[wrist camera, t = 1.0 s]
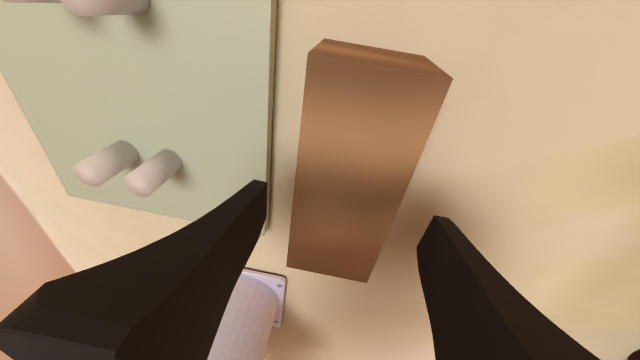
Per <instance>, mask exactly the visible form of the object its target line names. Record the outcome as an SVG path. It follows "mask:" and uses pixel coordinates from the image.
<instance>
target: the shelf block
mask: <svg viewBox="0 0 640 360" xmlns="http://www.w3.org/2000/svg"><path fill="white" fill-rule="evenodd" d="M452 80H453V78H452V77H450V76H449V75H448V74H447V73H445V72H444V71H443V70H441V69H440V68H439V67H438V66H436V65H435V64H434V63H432V62H431V61H430V60H429V59H427V58H426V57H425V56H421V55H416V54H410V53H404V52H398V51H393V50H387V49H381V48H375V47H370V46H364V45H358V44H353V43H347V42H341V41H335V40H330V39H323V40H322V41H321V42H320V43H319V44H318V45H317V46H315V47H314V48H313V49H312V50H311V51H310V52H309V53H308V58H307V68H306V78H305V88H304V98H303V108H302V118H301V128H300V137H299V147H298V157H297V167H296V177H295V187H294V197H293V207H292V216H291V226H290V236H289V246H288V256H287V266H286V267H291V268H295V269H300V270H305V271H310V272H315V273H320V274H325V275H330V276H335V277H340V278H345V279H350V280H355V281H359V282H364V283H367V281H368V279H369V276H370V274H371V272H372V269H373V267H374V265H375V262H376V260H377V258H378V255H379V253H380V250H381V248H382V246H383V243H384V241H385V239H386V236H387V234H388V231H389V229H390V227H391V224H392V222H393V220H394V217H395V215H396V213H397V210H398V208H399V205H400V203H401V201H402V198H403V196H404V194H405V191H406V189H407V186H408V184H409V182H410V179H411V177H412V175H413V172H414V170H415V167H416V165H417V163H418V160H419V158H420V156H421V153H422V151H423V149H424V146H425V144H426V141H427V139H428V137H429V134H430V132H431V130H432V127H433V125H434V122H435V120H436V118H437V115H438V113H439V111H440V108H441V106H442V104H443V101H444V99H445V96H446V94H447V92H448V89H449V87H450V85H451V82H452Z"/></svg>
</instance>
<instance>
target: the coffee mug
mask: <svg viewBox="0 0 640 360" xmlns="http://www.w3.org/2000/svg"><path fill="white" fill-rule="evenodd" d="M628 360H640V350H638V351H636V352H634V353H633V354H631V355H630V356H629V357H628Z"/></svg>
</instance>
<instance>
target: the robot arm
mask: <svg viewBox="0 0 640 360" xmlns="http://www.w3.org/2000/svg"><path fill="white" fill-rule="evenodd" d="M267 186H268V182H264V181H259V180H252V181H251V182H249V183H248V184H247V185H245V186H244V187H243V188H242V189H240V190H239V191H238V192H236V193H235V194H234V195H232V196H231V197H230V198H228V199H227V200H225V201H224V202H223V203H221V204H220V205H219V206H217V207H216V208H214V209H213V210H211V211H210V212H208V213H206V214H205V215H203V216H202V217H200V218H199V219H197V220H196V221H194V222H192V223H191V224H189V225H187V226H185V227H184V228H182V229H180V230H178V231H176V232H174V233H172V234H170V235H168V236H166V237H164V238H162V239H160V240H158V241H156V242H154V243H151V244H149V245H147V246H145V247H143V248H141V249H138V250H136V251H134V252H131V253H129V254H126V255H124V256H121V257H119V258H116V259H114V260H111V261H108V262H106V263H103V264H100V265H98V266H95V267H92V268H89V269H86V270H83V271H80V272H77V273H74V274H71V275H68V276H65V277H62V278H59V279H56V280H53V281H49V282H46V283H45V284H44V285H42V286H41V287H40V288H39V289H38V290H37V291H36V292H34V293H33V294H32V295H31V296H30V297H29V298H28V299H26V300H25V301H24V302H23V303H22V304H21V305H20V306H18V307H17V308H16V309H15V310H14V311H13V312H11V314H9V315H8V316H7V317H6V318H5V319H4V320H2V321H1V322H0V350H1V351H2V352H4V353H5V354H6V355H8V356H9V357H11V358H12V359H14V360H264V356H265V352H266V349H267V345H268V341H269V338H270V334H271V331H272V327H274V328H279V327H280V326H281V320H282V311H283V303H284V294H285V285H286V279H285V278H284V277H282V276H277V275H273V274H268V273H263V272H258V271H253V270H248V269H244V267H245V265H246V263H247V261H248V259H249V257H250V255H251V253H252V251H253V249H254V247H255V245H256V243H257V241H258V239H259V237H260V234H261V231H262V228H263V226H264V223H265V220H266V217H267ZM417 260H418V270H419V275H420V279H421V284H422V288H423V293H424V297H425V301H426V306H427V310H428V314H429V319H430V323H431V329H432V334H433V342H434V350H435V358H436V360H600V359H599V358H597V357H596V356H595V355H593V354H592V353H591V352H589V351H588V350H587V349H585V348H584V347H583V346H581V345H580V344H579V343H578V342H576V341H575V340H574V339H573V338H571V337H570V336H569V335H568V334H566V333H565V332H564V331H563V330H561V329H560V328H559V327H558V326H556V325H555V324H554V323H553V322H552V321H550V320H549V319H548V318H547V317H546V316H544V315H543V314H542V313H541V312H540V311H539V310H538V309H536V308H535V307H534V306H533V305H532V304H531V303H530V302H529V301H528V300H526V299H525V298H524V297H523V296H522V295H521V294H520V293H519V292H518V291H517V290H516V289H515V288H514V287H513V286H512V285H511V284H510V283H509V282H508V281H507V280H506V279H505V278H504V277H503V276H502V275H501V274H500V273H499V272H498V271H497V270H496V269H495V268H494V267H493V266H492V265H491V264H490V263H489V262H488V261H487V260H486V259H485V258H484V256H483V255H482V254H481V253H480V252H479V251H478V250H477V249H476V248H475V246H474V245H473V244H472V243H471V242H470V241H469V240H468V239H467V237H466V236H465V235H464V234H463V233H462V232H461V231H460V230H459V228H458V227H457V226H456V225H455V224H454V223H453V222H452V221H451V220H450V219H449V218H445V217H440V216H435V215H434V217H433V219H432V220H431V222H430V224H429V226H428V228H427V229H426V231H425V233H424V235H423V237H422V238H421V240H420V242H419V244H418V246H417Z"/></svg>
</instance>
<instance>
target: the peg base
mask: <svg viewBox="0 0 640 360" xmlns="http://www.w3.org/2000/svg"><path fill="white" fill-rule="evenodd" d="M276 16H277V0H0V71H1V73H2V75H3V77H4V79H5V81H6V82H7V84H8V86H9V88H10V90H11V92H12V93H13V95H14V97H15V99H16V101H17V103H18V104H19V106H20V108H21V110H22V112H23V113H24V115H25V117H26V119H27V121H28V123H29V124H30V126H31V128H32V130H33V132H34V134H35V135H36V137H37V139H38V141H39V143H40V145H41V146H42V148H43V150H44V152H45V154H46V155H47V157H48V159H49V161H50V163H51V165H52V166H53V168H54V170H55V172H56V174H57V176H58V177H59V179H60V181H61V183H62V185H63V187H64V188H65V190H66V192H67V194H68V196H72V197H76V198H81V199H86V200H91V201H96V202H101V203H106V204H111V205H116V206H121V207H126V208H131V209H136V210H140V211H145V212H150V213H155V214H160V215H165V216H170V217H175V218H180V219H185V220H190V221H196V220H197V219H199V218H200V217H202V216H203V215H205V214H206V213H208V212H210V211H211V210H213V209H214V208H216V207H217V206H219V205H220V204H221V203H223V202H224V201H225V200H227V199H228V198H230V197H231V196H232V195H234V194H235V193H236V192H238V191H239V190H240V189H242V188H243V187H244V186H245V185H247V184H248V183H249V182H251V181H252V180H259V181H264V182H268V186H267V217H266V220H265V223H264V226H263V228H262V231H261V234H260V235H263V236H264V235H265V233H266V231H267V228H268V219H269V194H270V168H271V143H272V117H273V92H274V67H275V41H276Z"/></svg>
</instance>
